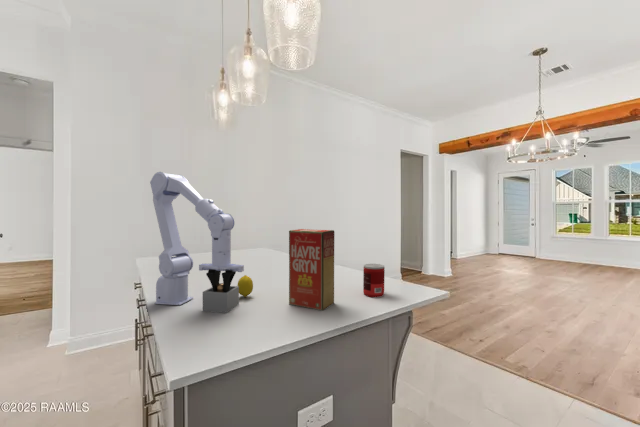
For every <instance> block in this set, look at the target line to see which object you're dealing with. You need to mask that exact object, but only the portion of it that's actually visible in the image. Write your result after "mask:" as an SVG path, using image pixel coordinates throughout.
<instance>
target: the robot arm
mask: <svg viewBox="0 0 640 427" xmlns="http://www.w3.org/2000/svg"><path fill="white" fill-rule="evenodd" d="M149 183H150V184H149V185H150V188H151V193H152V201H153V202H152V203H153V208H154V211H155V215H156V220H157V223H158V227H159V232H160V237H161V242H162V246H163V251H162V252H161V253H160V254H159V255H158V259H159V263H158V270H159V273H160V274H161V275H160V277H159V276H158V278H157V280H156V284H155V302H153V304H155V305H169V306H181V305H183V304H185V303H187V302H189V301H191V300H193V299H194V296H189V274H190V271H192V269H193V267H194V260H193V258H192V256H191V255H190V253H189V250H188V248H186V247H184V246H183V245H182V242H181V241H182V240H181V237H180V232H179V229H178V228H179V227H178V225H177V221H176V216H175V212H174V208H173V204H172V203H173V201H174V200H175V199H177V197H179V196H180V195H182V196H183V197H184V198H185V199H186V200H188V201H189V203H191V204H193V206H195V208H194V210H195V212H196V213H197V214H198V215H199V216H200V217H201V218H202V219H203V220H205V221H206V223H207V227H208V229H209V231H210V236H211V263H200V264H198V271H199V272H200V271H207V272H206V277H207V278H208V280H209V282H210V284H211V287H212V288H213V292H217V284H219V283H220V279H221V278H220V277H221V276H222V283H223V284H224V287H223V292H225V293H226V292H228V291H229V289H230V286H232V285H231V284H232V281H233V280H234V277H235V276H236V272H237V273H242V272H244V271H245V265H244V264H236V263H231V262H232V261H231V260H232V259H231V258H232V257H231V256H232V255H231V253H232V252H231V251H232V250H231V248H232V247H231V246H232V241H231V240H232V235H231V233H232V230H233V228H234V227H235V218H234V217H233V215H232V214H230V213H225V212H224V210H223V209H222V208H220V207H218V206H217V205H216V204H215V203H214V202H215V201H214V200H213V199H211V198H210V199H209V198H204V197H202V196H201V194H199V192H198V191H197V190H196V189H195V188H194V187H193V186H192V185H191V184H190V182H189V180H188V179H187V178H186V177H185V176H184V175H182V174H173V173H168V172H163V171H158V172H155V173H154V175H153V176H152V178H151V180H150V181H149Z"/></svg>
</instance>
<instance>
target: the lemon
mask: <svg viewBox="0 0 640 427" xmlns="http://www.w3.org/2000/svg"><path fill="white" fill-rule="evenodd" d="M253 282H254V281H253V279H252V278H251V277H250V276H248V275H247V274H244V275H243V276H241V277H240V278H239V279H238V281H237V284H236V286H239V295H241V296H242V297H244V298H247V297H248V296H249V295H251V293H252V292H253V289H254V283H253Z"/></svg>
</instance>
